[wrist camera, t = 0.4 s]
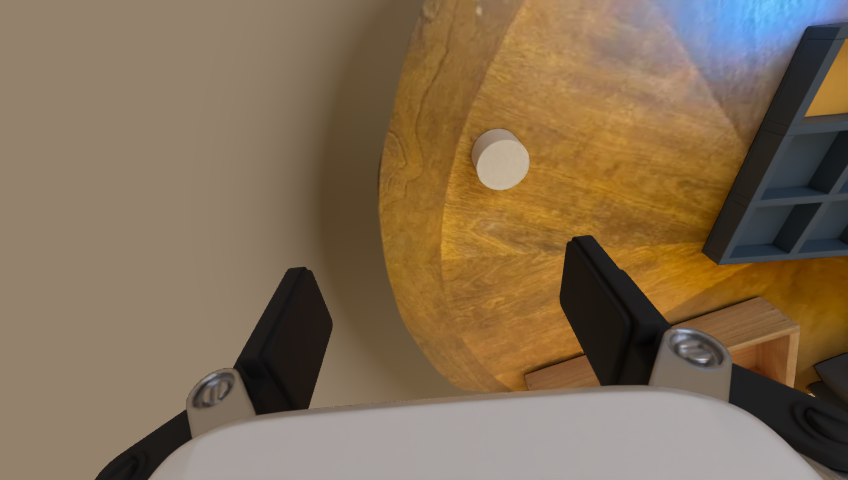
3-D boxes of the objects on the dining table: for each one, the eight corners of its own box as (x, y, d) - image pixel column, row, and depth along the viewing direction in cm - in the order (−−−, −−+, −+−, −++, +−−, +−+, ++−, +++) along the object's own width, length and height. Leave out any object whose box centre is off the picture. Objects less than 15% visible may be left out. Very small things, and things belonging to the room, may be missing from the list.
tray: (759, 293, 40) (805, 329, 35) (758, 360, 47) (796, 398, 42) (521, 369, 48) (533, 407, 43) (552, 416, 55) (564, 453, 50)
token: (471, 130, 29) (476, 142, 26) (521, 126, 29) (531, 137, 26) (471, 177, 31) (476, 192, 28) (517, 173, 31) (527, 188, 28)
